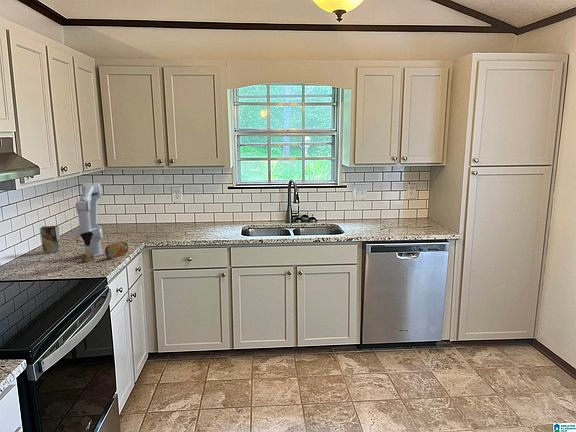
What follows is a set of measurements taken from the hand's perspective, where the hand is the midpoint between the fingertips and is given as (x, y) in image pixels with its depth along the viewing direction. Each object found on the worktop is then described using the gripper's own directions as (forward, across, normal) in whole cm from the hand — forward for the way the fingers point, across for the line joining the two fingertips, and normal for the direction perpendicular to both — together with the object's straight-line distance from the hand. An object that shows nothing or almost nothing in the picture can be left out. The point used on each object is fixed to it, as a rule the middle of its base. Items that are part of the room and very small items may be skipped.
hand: (87, 245), depth 240 cm
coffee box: (+10, +2, +44) cm, 45 cm away
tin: (+10, +14, -5) cm, 18 cm away
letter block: (+10, 0, +2) cm, 10 cm away
